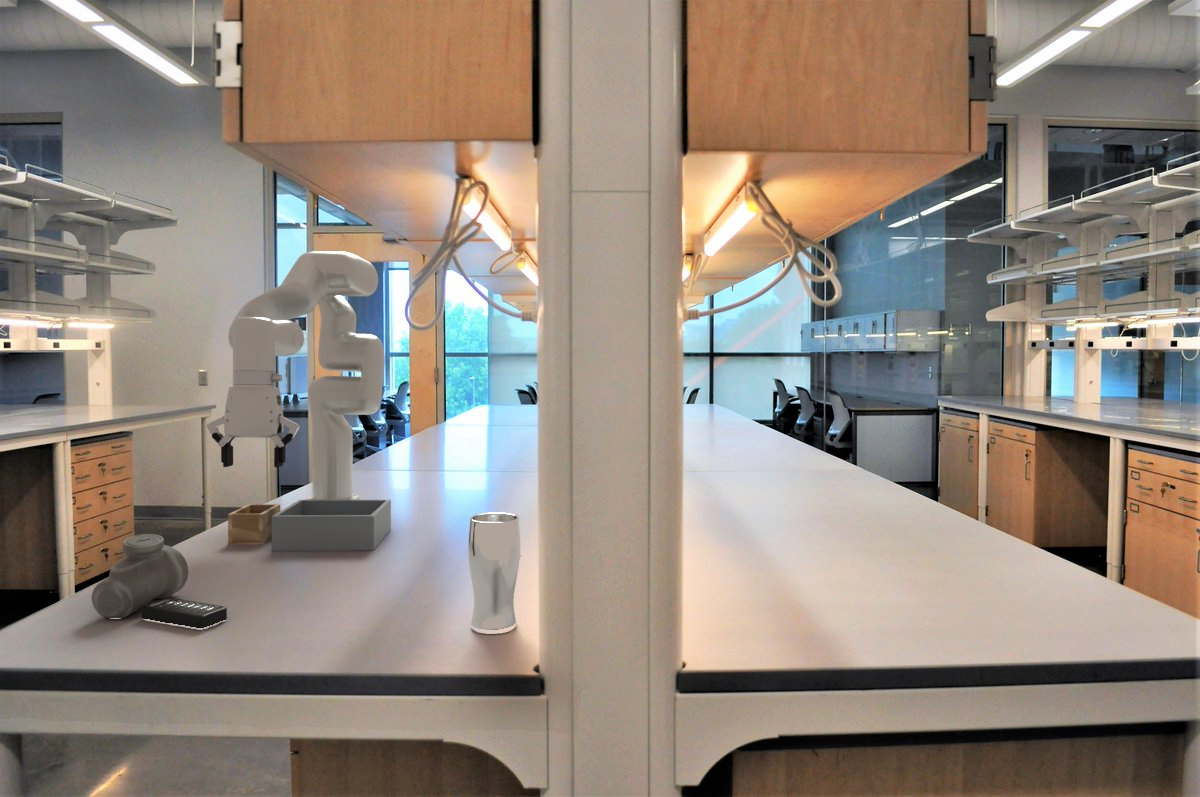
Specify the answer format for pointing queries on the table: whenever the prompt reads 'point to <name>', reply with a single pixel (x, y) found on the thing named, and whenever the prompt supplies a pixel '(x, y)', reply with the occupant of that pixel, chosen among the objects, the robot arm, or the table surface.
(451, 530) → the table surface
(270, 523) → the oak crate
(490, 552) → the beer glass
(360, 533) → the box
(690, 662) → the table surface
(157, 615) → the multiport hub
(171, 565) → the pipe fitting
